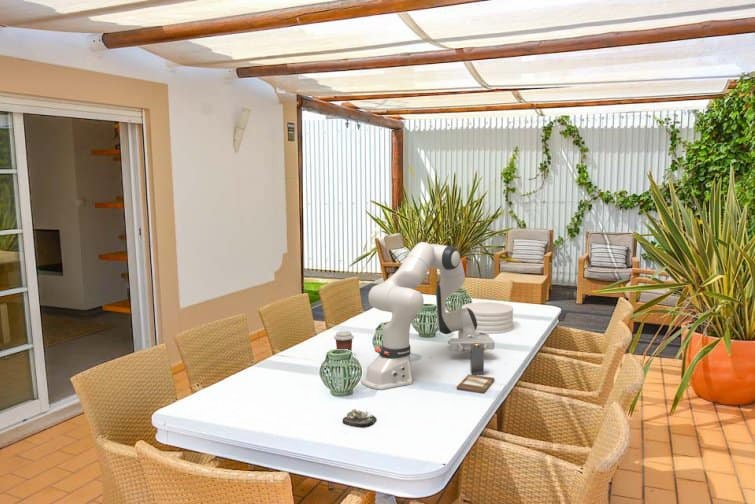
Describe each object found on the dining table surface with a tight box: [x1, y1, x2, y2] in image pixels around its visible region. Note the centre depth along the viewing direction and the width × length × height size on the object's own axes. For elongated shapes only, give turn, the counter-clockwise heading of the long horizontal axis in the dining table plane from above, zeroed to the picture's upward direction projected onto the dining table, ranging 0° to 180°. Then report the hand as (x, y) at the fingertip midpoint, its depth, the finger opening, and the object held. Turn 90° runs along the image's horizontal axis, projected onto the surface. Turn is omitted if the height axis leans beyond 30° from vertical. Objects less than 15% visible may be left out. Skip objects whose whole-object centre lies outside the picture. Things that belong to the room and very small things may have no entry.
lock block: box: [469, 343, 485, 376], centre depth 252 cm, size 5×5×13 cm
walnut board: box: [456, 373, 495, 394], centre depth 239 cm, size 16×11×1 cm
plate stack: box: [460, 301, 514, 335], centre depth 329 cm, size 28×28×12 cm
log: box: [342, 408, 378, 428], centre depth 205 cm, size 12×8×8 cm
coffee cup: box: [333, 330, 355, 351], centre depth 277 cm, size 9×9×12 cm
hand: (473, 349), depth 264 cm, fingers open, 8 cm apart
